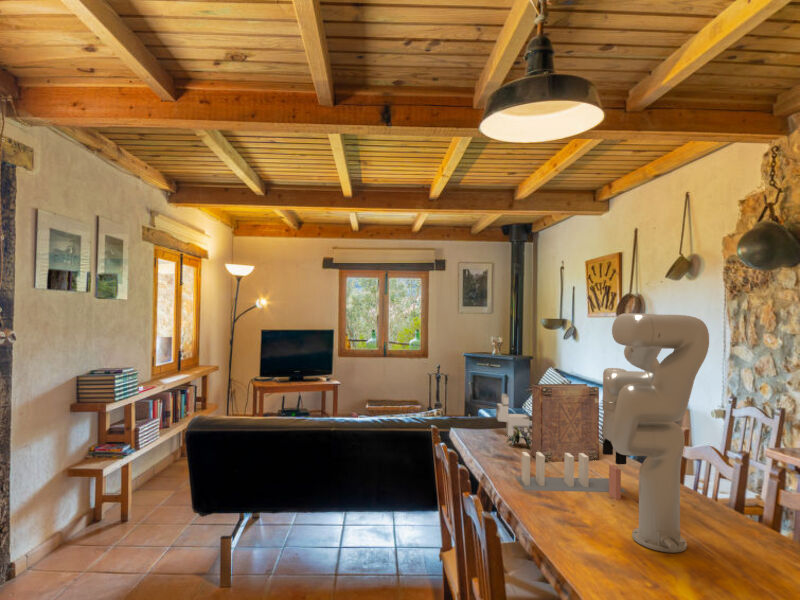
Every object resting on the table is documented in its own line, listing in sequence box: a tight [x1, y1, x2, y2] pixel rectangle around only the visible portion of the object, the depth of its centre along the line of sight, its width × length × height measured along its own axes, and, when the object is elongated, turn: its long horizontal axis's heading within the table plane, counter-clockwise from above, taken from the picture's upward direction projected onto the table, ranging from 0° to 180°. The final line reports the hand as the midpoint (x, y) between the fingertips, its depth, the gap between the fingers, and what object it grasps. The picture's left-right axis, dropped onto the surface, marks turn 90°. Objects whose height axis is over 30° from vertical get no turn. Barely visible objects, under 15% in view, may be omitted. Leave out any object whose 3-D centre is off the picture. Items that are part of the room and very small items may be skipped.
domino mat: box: [515, 476, 627, 493], centre depth 171 cm, size 14×34×1 cm, turn 90°
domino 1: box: [521, 451, 531, 486], centre depth 171 cm, size 5×2×10 cm, turn 0°
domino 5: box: [608, 464, 622, 500], centre depth 160 cm, size 5×2×10 cm, turn 0°
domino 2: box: [535, 452, 546, 486], centre depth 171 cm, size 5×2×10 cm, turn 0°
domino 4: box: [578, 453, 590, 487], centre depth 171 cm, size 5×2×10 cm, turn 0°
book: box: [531, 383, 600, 463], centre depth 205 cm, size 25×9×30 cm, turn 101°
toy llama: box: [495, 392, 532, 437], centre depth 242 cm, size 8×18×20 cm, turn 85°
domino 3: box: [563, 453, 575, 487], centre depth 171 cm, size 5×2×10 cm, turn 0°
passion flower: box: [504, 425, 532, 449], centre depth 221 cm, size 11×11×12 cm
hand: (614, 459), depth 161 cm, fingers open, 9 cm apart
